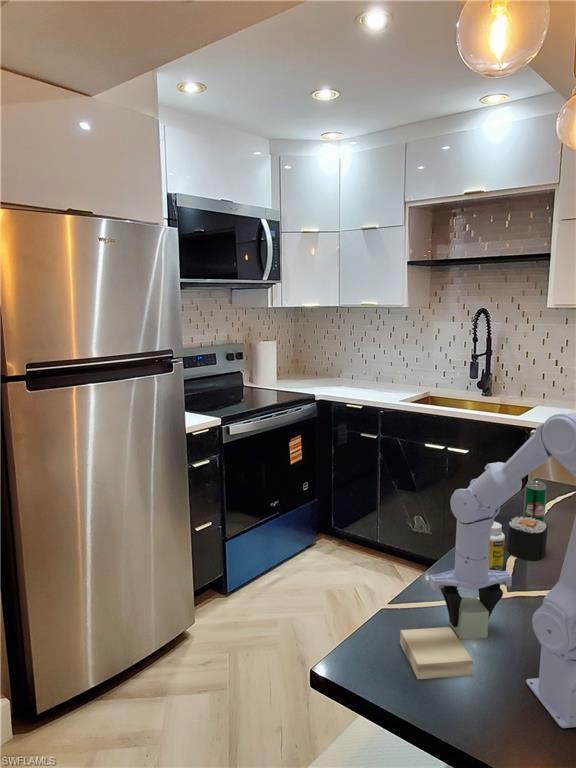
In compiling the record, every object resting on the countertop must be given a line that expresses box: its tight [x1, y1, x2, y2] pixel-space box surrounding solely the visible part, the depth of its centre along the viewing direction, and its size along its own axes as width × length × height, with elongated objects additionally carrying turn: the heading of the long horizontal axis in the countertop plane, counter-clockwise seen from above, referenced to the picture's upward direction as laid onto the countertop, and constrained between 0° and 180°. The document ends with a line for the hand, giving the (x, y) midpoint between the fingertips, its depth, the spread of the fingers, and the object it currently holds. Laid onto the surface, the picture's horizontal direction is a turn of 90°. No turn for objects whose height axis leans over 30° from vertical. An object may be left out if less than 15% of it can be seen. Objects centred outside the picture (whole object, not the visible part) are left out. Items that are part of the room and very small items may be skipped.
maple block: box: [399, 626, 474, 680], centre depth 90 cm, size 9×9×3 cm
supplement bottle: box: [488, 521, 506, 571], centre depth 120 cm, size 6×6×10 cm
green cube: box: [448, 596, 490, 641], centre depth 97 cm, size 5×5×5 cm
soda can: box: [522, 480, 547, 523], centre depth 142 cm, size 5×5×12 cm
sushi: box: [507, 516, 548, 562], centre depth 127 cm, size 8×8×8 cm
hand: (468, 622), depth 98 cm, fingers closed on green cube, 5 cm apart
